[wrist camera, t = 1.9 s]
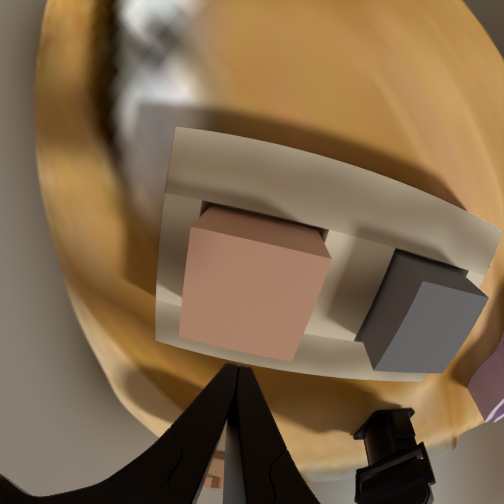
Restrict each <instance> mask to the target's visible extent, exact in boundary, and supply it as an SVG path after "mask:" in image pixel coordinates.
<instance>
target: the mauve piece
mask: <svg viewBox="0 0 504 504" xmlns="http://www.w3.org/2000/svg"><path fill="white" fill-rule="evenodd" d="M467 389H468V390H469V392H470V394H471V396H472V398H473V399H474V401H475V403H476V405H477V407H478V409H479V411H480V413H481V415H482V417H483V419H484V421H485V422H487V421H488V420H490V419H491V418H492V420H493V422H496V421H498V420H499V419H501V418H502V417H503V416H504V332H503V335H502V338H501V341H500V343H499V345H498V347H497V349H496V350H495V352H494V353H493V354H492V355H491V356H490V357H489V358H488V359H487V360H486V361H485V362H484V363H483V364H482V365H481V366H480V367H479V368H478V369H477V371H476V372H475V373H474V375H473V376H472V378H471V379H470V381H469V383H468V386H467Z"/></svg>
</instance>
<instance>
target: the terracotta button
mask: <svg viewBox="0 0 504 504" xmlns="http://www.w3.org/2000/svg"><path fill="white" fill-rule="evenodd" d="M331 260H332V258H331V256H330V254H329V252H328V250H327V248H326V246H325V244H324V242H323V240H322V238H321V236H320V234H319V232H318V230H314V229H310V228H306V227H302V226H298V225H294V224H290V223H286V222H281V221H277V220H273V219H269V218H264V217H260V216H256V215H251V214H247V213H242V212H238V211H233V210H229V209H224V208H219V207H215V206H211V207H210V208H209V209H208V210H207V211H206V212H205V213H204V214H203V215H202V216H201V217H200V218H199V219H198V220H197V221H196V222H195V223H194V224H193V225H192V226H191V230H190V237H189V244H188V252H187V260H186V268H185V277H184V286H183V295H182V306H181V317H180V329H179V337H182V338H185V339H189V340H193V341H197V342H201V343H205V344H209V345H213V346H217V347H221V348H226V349H230V350H235V351H239V352H244V353H249V354H254V355H259V356H264V357H270V358H275V359H281V360H287V361H292V360H293V358H294V355H295V353H296V351H297V348H298V346H299V344H300V341H301V339H302V336H303V334H304V332H305V329H306V327H307V324H308V322H309V319H310V317H311V314H312V312H313V309H314V307H315V304H316V301H317V299H318V296H319V293H320V291H321V288H322V285H323V283H324V280H325V277H326V274H327V271H328V269H329V266H330V263H331Z"/></svg>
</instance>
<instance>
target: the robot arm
mask: <svg viewBox="0 0 504 504" xmlns="http://www.w3.org/2000/svg"><path fill="white" fill-rule="evenodd" d="M414 413H415V411H414V410H393V411H376V412H375V413H374V414H373V415H372V416H371V417H370V418H369V419H368V420H367V422H366V423H365V424H364V425H363V426H362V427H361V428H360V429H359V430H358V431H357V433H356V434H355V435H354V436H353V439H354V440H362V439H363V440H364V445H365V450H366V455H367V460H368V465H369V466H367V467H364V468H360V469H357V470H356V494H355V499H354V501H355V503H357V504H432V503H433V500H434V499H433V494H432V490H431V485H433V484H435V483H436V482H435V477H434V473H433V470H432V466H431V463H430V459H429V456H428V453H427V450H426V448H425V445H424V443H423V442H421V443H419V444H418V445H417V443H416V440H415V432H414V429H413V426H412V423H411V421H410V418H411V417H412V416H413V415H414ZM226 421H227V423H226ZM225 424H226V438H225V460H224V485H223V504H320V502H319V501H318V500H317V498H316V497H315V495H314V494H313V493H312V491H311V490H310V489H309V487H308V485H307V484H306V482H305V481H304V479H303V477H302V476H301V474H300V473H299V471H298V469H297V467H296V465H295V463H294V461H293V460H292V457H291V455H290V453H289V451H288V450H286V449H287V447H286V445H285V443H284V440H283V438H282V436H281V434H280V432H279V429H278V427H277V425H276V423H275V420H274V418H273V416H272V414H271V411H270V409H269V407H268V404H267V402H266V400H265V398H264V395H263V393H262V391H261V388H260V386H259V383H258V381H257V379H256V376H255V374H254V371H253V369H252V368H251V367H248V366H243V365H240V366H238V365H237V364H233V363H228V362H227V363H225V364H224V366H223V367H222V368H221V369H220V370H219V372H218V373H217V374H216V375H215V376H214V378H213V379H212V380H211V381H210V382H209V383H208V385H207V386H206V387H205V388H204V389H203V390H202V392H201V393H200V394H199V395H198V396H197V397H196V398H195V400H194V401H193V402H192V403H191V404H190V405H189V406H188V408H187V409H186V410H185V411H184V412H183V413H182V414H181V415H180V416H179V418H178V419H177V420H176V421H175V422H174V423H173V424H172V425H171V427H170V428H168V429H167V431H166V432H165V433H164V434H163V435H162V436H161V437H160V438H159V439H158V440H157V441H156V442H155V443H154V444H153V445H152V446H151V447H149V448H148V449H147V450H146V451H145V452H143V453H142V454H141V455H140V456H138V457H137V458H136V459H134V460H133V461H132V462H130V463H129V464H128V465H126V466H125V467H123V468H122V469H121V470H119V471H118V472H116V473H115V474H113V475H112V476H110V477H109V478H107V479H105V480H104V481H102V482H100V483H98V484H95V485H92V486H89V487H85V488H81V489H77V490H73V491H69V492H64V493H60V494H55V495H50V496H42V497H38V496H32V495H31V494H29V493H28V492H26V491H25V490H23V489H22V488H20V487H19V486H17V485H16V484H14V483H13V482H12V481H10V480H9V479H8V478H6V477H5V476H3V475H2V474H0V504H196V503H197V500H198V497H199V495H200V492H201V490H202V487H203V485H204V482H205V479H206V477H207V474H208V471H209V469H210V466H211V463H212V461H213V458H214V455H215V453H216V450H217V447H218V444H219V442H220V439H221V436H222V433H223V430H224V427H225ZM422 457H423V459H420V458H422Z"/></svg>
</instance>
